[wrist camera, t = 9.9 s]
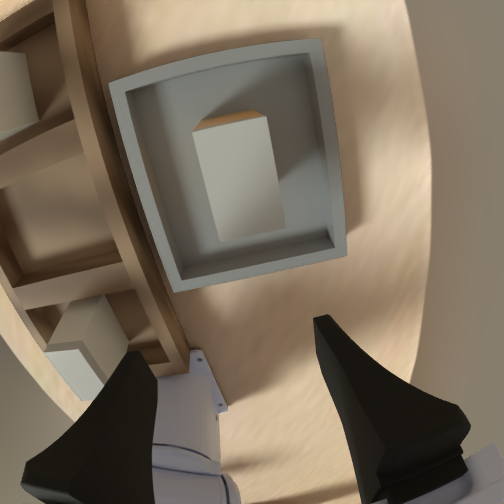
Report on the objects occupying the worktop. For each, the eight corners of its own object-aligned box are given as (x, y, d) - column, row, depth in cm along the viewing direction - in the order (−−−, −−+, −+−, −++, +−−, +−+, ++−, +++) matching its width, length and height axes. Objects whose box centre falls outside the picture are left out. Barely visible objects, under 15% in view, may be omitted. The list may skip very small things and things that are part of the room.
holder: (190, 348, 26) (189, 372, 24) (75, 362, 26) (67, 384, 24) (84, -6, 13) (66, -17, 10) (-42, 73, 13) (-65, 76, 10)
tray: (336, 241, 23) (347, 255, 21) (177, 275, 23) (173, 293, 21) (310, 43, 16) (320, 37, 14) (120, 83, 16) (108, 83, 14)
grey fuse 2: (129, 341, 24) (114, 399, 19) (99, 345, 24) (80, 400, 19) (103, 292, 22) (78, 348, 17) (71, 298, 22) (43, 352, 17)
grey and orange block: (267, 188, 20) (286, 228, 14) (219, 199, 20) (220, 242, 14) (252, 109, 17) (266, 116, 12) (200, 120, 17) (192, 132, 12)
